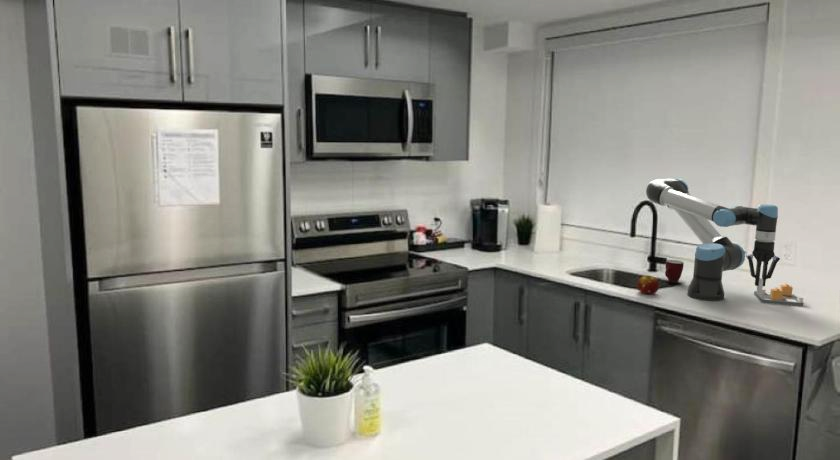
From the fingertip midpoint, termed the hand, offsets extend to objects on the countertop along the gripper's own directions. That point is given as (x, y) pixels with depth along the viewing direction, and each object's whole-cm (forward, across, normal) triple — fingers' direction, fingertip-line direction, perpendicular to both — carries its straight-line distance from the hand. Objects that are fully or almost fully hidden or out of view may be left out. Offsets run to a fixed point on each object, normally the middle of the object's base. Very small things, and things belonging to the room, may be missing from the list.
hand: (759, 293), depth 265 cm
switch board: (+4, +9, +5) cm, 11 cm away
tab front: (+2, +7, 0) cm, 7 cm away
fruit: (+4, -46, -3) cm, 46 cm away
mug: (+4, -33, +23) cm, 40 cm away
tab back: (+2, +13, +9) cm, 16 cm away
